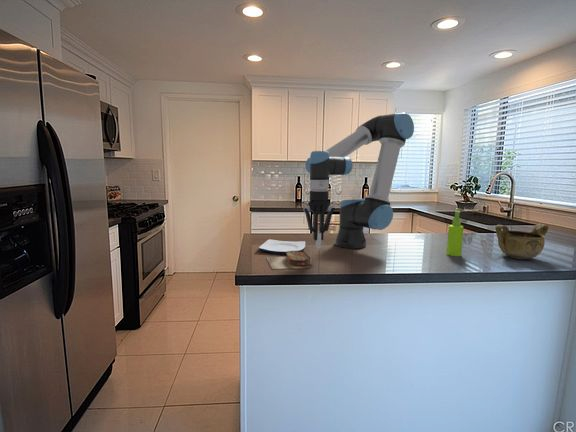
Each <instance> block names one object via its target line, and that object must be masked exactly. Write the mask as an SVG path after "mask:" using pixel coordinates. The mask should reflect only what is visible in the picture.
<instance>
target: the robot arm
mask: <svg viewBox="0 0 576 432" xmlns="http://www.w3.org/2000/svg"><path fill="white" fill-rule="evenodd" d="M414 132H415V123H414V121H413V118H412V117H411V115H410V114H408V113H406V112H396V113H390V114H383V115H377V116H375V117H372V118H370V119H369V120H366V122H363V123H362V124H360V125H359V126H357V128H356V129H355V131H354V132H353V133H351V134H350V135H347V136H346V137H345V138H343V139H342V140H340V141H338V142H337V143H336V144H334V145H332V146H331V147H329V148H327V149H326V150H313V151H311V152H310V156H309V157H308V158H307V159H306V161H305V169H306V171H307V172H308V173H309V190H310V191H309V202H308V204H307V206H306V207H303V208H302V211H303V212H304V214H305V218H306V222H307V225H308V226H307V227H308V230H309V231H310V232H312V233H313V238H312V239H313V240H314V241H315V249H317V250H319V249H322V241H324V234H325V232H327V231H328V230H329V227H330V223H331V220H332V216H333V213H334V211H335V210H336V209H335V207H332V206H331V205H330V202H329V197H330V196H329V194H330V193H329V191H328V190H329V187H330V186H329V185H330V182H329V180H330V176H339V175H340V176H344V175H350V173H351V172H352V170H353V165H354V164H353V161H352V159H351V158H350V157H348V156H350V155H351V154H352V153H354V152H355V151H357V150H358V149H360V148H361V147H363V146H366V145H367V146H369V144H371V143H373V142H377V141H378V142H379V143H380V148H379V154H378V158H377V162H376V166H375V168H374V169H375V170H374V174H373V178H372V181H371V187H370V190H369V192H368V193H369V194H367V195H366V196H365V198H356V199H355V198H353V199H352V198H351V199H343V200H341V201H340V205H339V225H338V226H339V228H338V231H337V233H336V234H337V235H336V237H335V242H334V243H335V245H336V247H339V248H343V249H344V248H345V249H363V248H365V247H367V240H366V236H365V232H364V228H367V229H371V230H377V231H383V230H385V229H386V228H387V227H389V226H390V225H391V223H392V221H393V217H394V210H393V207H392V206H391V201H390V200H389V198H390V197H389V196H390V192H391V187H392V184H393V180H394V177H395V171H396V168H397V167H396V166H397V164H398V159H399V155H400V151H401V148H403V147H404V146H405V144H406V141H407V140H409V139H410V138H412V136H413V135H414ZM310 211H311V212H312V215H313V216H312V217H313V220H312V217H311V213H310ZM325 213H326V214H325ZM325 215H326V216H325ZM312 221H313V223H312Z"/></svg>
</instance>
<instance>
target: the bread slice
mask: <svg viewBox="0 0 576 432" xmlns="http://www.w3.org/2000/svg"><path fill="white" fill-rule="evenodd" d="M285 255H286V256H285V257H286V258H287V260H288V262H289V263H290V264H291V265H293V266H307V265H309V266H310V263H311V257H310V256H309V255H308V253H306V252H305V251H304V250H302V251H288V252H286V254H285Z"/></svg>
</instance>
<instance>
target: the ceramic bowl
mask: <svg viewBox="0 0 576 432" xmlns="http://www.w3.org/2000/svg"><path fill="white" fill-rule="evenodd" d="M548 230H549V226H548V224H545V223H544V224H543V223H538V224H536V225H535V226H534V227H533V229H532V231H527V230H526V231H523V230H515V229H509V228H508V227H507V225H504V224H496V226H495V233H496V237H497V241H498V242H497V243H498V247H499V249H500V250H501V252H502V253H503V254H504V255H506V256H507V257H510V258H512V259H516V260H530V259H532V258H535V257H537V256H539V255H541V254H542V252H543V250H544V247H545V244H546V243H545V236H546V234H547V233H548Z"/></svg>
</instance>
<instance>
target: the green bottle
mask: <svg viewBox="0 0 576 432" xmlns="http://www.w3.org/2000/svg"><path fill="white" fill-rule="evenodd" d="M454 213H455V214H454V216H453V218H452V223H451V224H449V225H448V234H447V244H446V245H447V246H446V254H447V255H448V256H451V257H461V256H462V247H463V237H464V229H465V228H464V226H463V225H461V223H462V218H461V217H460V215H461V214H460V213H461V210H459V209H457V210H456V209H455V210H454Z"/></svg>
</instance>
